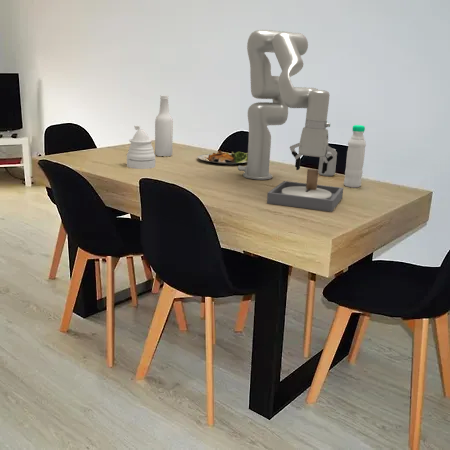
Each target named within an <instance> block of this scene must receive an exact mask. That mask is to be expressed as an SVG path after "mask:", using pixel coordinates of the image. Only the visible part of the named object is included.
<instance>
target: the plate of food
mask: <svg viewBox="0 0 450 450" xmlns="http://www.w3.org/2000/svg"><path fill="white" fill-rule="evenodd" d="M197 159H199V160H201V161H204V162H207V163H212V164H213V163H214V164H220V165H230V166H231V165H234V164H235V165H238V164H243V163H247V160H248V152H242V151H236V152H234V151H231V153H229V152H224V151H222V150H218V151H217V152H213V153H205V154H201V155H197ZM205 159H208V160H209V161H208V160H205ZM235 165H234V166H235Z"/></svg>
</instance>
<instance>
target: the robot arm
mask: <svg viewBox="0 0 450 450" xmlns="http://www.w3.org/2000/svg"><path fill="white" fill-rule="evenodd" d="M308 48H309V42H308V38H307V37H306V36H305V34H304V33H300V32H293V31H292V32H291V31H283V30H282V31H281V30H272V29H257V30H254V31H253V32H251V33H250V35H249V37H248V39H247V45H246V49H247V56H248V60H249V66H250V67H249V74H250V75H249V76H250V93H251V96H252V97H253V98H255V99H258V100H272V102H270V101H269V102H268V101H267V102H266V101H265V102H264V101H263V102H261V101H258V102H254V103H252V104H250V106H249V107H248V109H247V121H248V144H247V153H248V154H247V155H248V160H247V162H246V165H244V166H243V165H238V166H237V170H238V171H241V172H243V173H242V176H243V178H246V179H249V180H250V179H251V180H260V181H261V180H262V181H263V180H271V179H272V178H273V174H272V173H270V163H271V162H270V161H271V148H272V147H271V144H272V135H271V132H270V130H269V128H268V126H281V125H285V124H286V122H287V120H288V117H289V109H306V115H305V123H304V126H303V128H302V130H301V134H300V139H299V142H298V143H295V144H292V145H290V146H289V149H290V152H291V155H292V156H293V157H294V160H295V164H294V168H295V169H296V171H299V170H300V169H301V161H302V159H301V157H302V156H307V157H308V156H309V157H315V158H320V157H322V159H323V160H324V163H323V167H322V173H323V174H324V173H325V171H327V165H328V162H329V161H330V160H331V159H333V157H334V156H335V155H336V153H337V154H338V152H337V151H335V150H334V149H335V148H333V149H332V147H331V146H330V145H329V130H328V128H330V127H331V122H328V112H329V103H330V93H329V91H327V90H323V89H318V88H316V87H307V86H306V87H305V86H304V87H302V86H300V87H299V86H298V87H297V86H294V85H293V83H292V80H291V77H293V76H295V75H297V74H298V73H299V72H301V71H302V69H303V68H304V61H303V58H302V56H304V55H305V54H306V53H307V51H308ZM266 53H274V55H275V57H276V61H277V62H278V64H279V67H280V69H281V72H280V74H279V75H272V71H271V70H272V64H271V62H270V59H269V57H268V55H267V54H266ZM296 148H298V153H297V151H296ZM327 151H329V152H331V153H332V154H331V156H330V157H329V158H328V157H327V156H326V155H327Z"/></svg>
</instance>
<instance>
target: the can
mask: <svg viewBox="0 0 450 450" xmlns="http://www.w3.org/2000/svg"><path fill="white" fill-rule="evenodd" d="M331 148H332V147H331ZM332 149H334V150H335V151H336V150H337V149H335V148H332ZM336 152H337V151H336ZM331 154H332V153H331V152H329V151H327V155H326V156H327V157H328V158H329V157H330V156H331ZM337 156H338V152H337V153H336V155H335V156H334V157H333V159H331V160H330V161H329V162H328V165H327V171H325V173H324V174H323V173H322V167H323V163H324V160H323V159H322V157H319V162H318V175H320V176H322V175H323V177H333V176H334V175H336V165H337Z"/></svg>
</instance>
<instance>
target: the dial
mask: <svg viewBox="0 0 450 450" xmlns="http://www.w3.org/2000/svg"><path fill="white" fill-rule="evenodd" d="M318 171H319V169H315V168H307V173H306V182H305V183H306V187H305V186H293V187H286V188H283V189H282V194H288V195H296V196H304V197H312V198H320V199H328V200H330V199H331V195H332V193H331V192H329V191H327V190H324V189H320V188H317V185H318V178H319V173H318Z"/></svg>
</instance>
